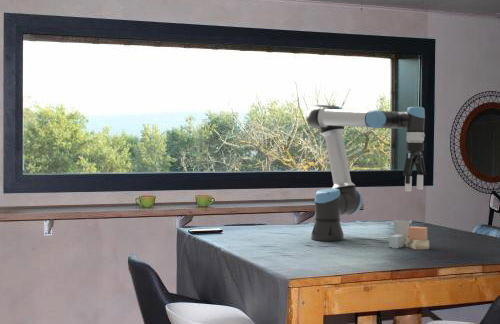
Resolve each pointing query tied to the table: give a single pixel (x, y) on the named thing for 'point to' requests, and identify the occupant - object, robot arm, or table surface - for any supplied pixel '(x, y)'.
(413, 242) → the maple block
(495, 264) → the table surface
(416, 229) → the terracotta block
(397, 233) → the cup
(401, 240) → the slate block
